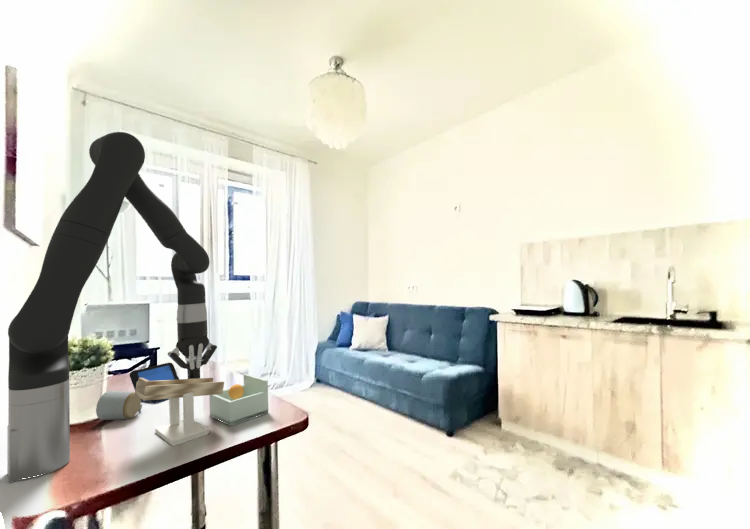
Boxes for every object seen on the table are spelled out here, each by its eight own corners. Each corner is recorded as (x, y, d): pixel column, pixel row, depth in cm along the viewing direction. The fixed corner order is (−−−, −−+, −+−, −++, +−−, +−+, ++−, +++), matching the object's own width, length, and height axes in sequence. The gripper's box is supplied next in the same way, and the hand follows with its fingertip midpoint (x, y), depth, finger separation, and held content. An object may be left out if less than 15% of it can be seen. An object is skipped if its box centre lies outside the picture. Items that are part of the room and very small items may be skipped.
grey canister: (125, 423, 96) (125, 394, 96) (95, 424, 96) (95, 395, 96) (150, 409, 106) (150, 383, 107) (122, 410, 106) (122, 384, 107)
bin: (230, 426, 91) (229, 390, 91) (209, 415, 99) (209, 382, 99) (268, 412, 99) (267, 380, 99) (246, 404, 107) (246, 374, 107)
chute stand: (172, 446, 81) (172, 399, 81) (155, 432, 89) (154, 390, 89) (208, 433, 87) (207, 390, 87) (189, 422, 95) (188, 382, 95)
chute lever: (143, 400, 79) (147, 382, 80) (124, 388, 90) (127, 371, 90) (222, 393, 92) (224, 378, 93) (197, 383, 103) (199, 369, 104)
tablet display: (155, 404, 111) (154, 374, 111) (127, 400, 116) (127, 372, 117) (198, 389, 125) (197, 363, 126) (172, 386, 131) (171, 361, 131)
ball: (249, 389, 99) (241, 403, 97) (242, 387, 102) (233, 400, 100) (238, 383, 97) (229, 396, 95) (231, 380, 100) (223, 394, 98)
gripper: (171, 323, 93) (173, 390, 92) (221, 317, 102) (223, 378, 102) (161, 322, 98) (163, 385, 97) (210, 316, 107) (212, 374, 107)
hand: (194, 381), depth 99 cm, fingers closed
